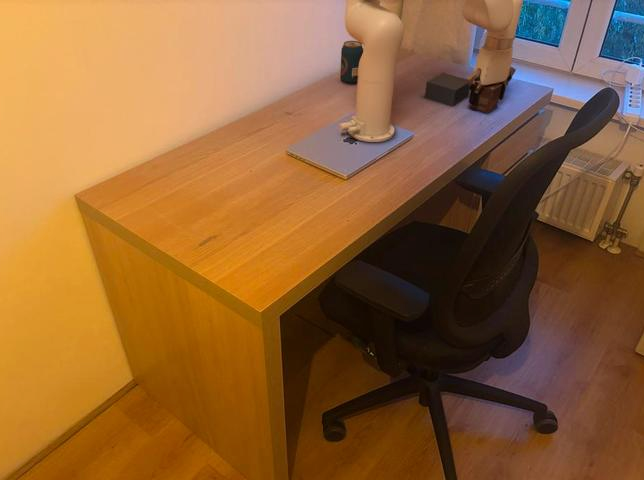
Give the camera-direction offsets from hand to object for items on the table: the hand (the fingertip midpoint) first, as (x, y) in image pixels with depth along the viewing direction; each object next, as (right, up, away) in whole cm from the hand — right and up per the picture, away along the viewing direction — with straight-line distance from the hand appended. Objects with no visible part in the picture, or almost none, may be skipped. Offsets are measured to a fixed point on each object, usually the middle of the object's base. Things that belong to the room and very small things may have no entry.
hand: (485, 101), depth 160 cm
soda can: (-39, +11, +16) cm, 44 cm away
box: (0, -2, +1) cm, 2 cm away
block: (-10, +4, +7) cm, 13 cm away
